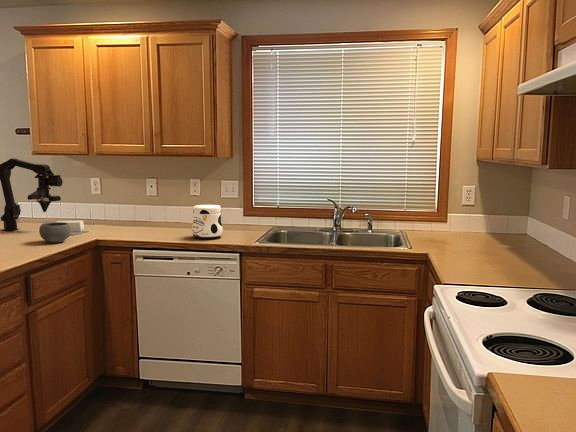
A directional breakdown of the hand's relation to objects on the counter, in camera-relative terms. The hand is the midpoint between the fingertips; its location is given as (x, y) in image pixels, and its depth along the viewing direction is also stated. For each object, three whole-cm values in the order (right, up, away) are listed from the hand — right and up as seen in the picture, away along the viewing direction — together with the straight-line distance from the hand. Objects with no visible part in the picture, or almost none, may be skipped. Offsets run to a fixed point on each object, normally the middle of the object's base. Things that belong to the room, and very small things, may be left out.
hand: (44, 212), depth 293 cm
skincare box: (+6, -8, +1) cm, 10 cm away
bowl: (+21, -16, -31) cm, 41 cm away
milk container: (+98, -15, -11) cm, 100 cm away
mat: (+16, -12, -2) cm, 20 cm away
